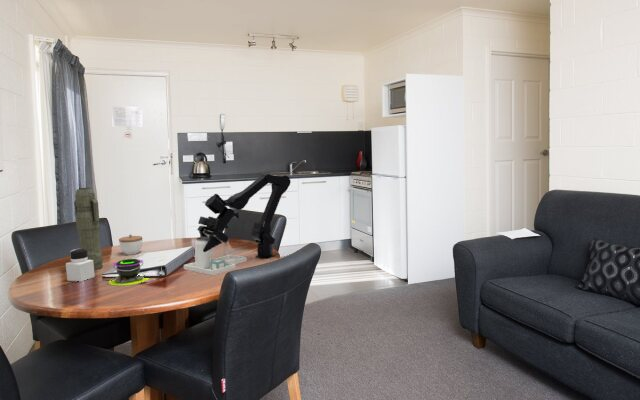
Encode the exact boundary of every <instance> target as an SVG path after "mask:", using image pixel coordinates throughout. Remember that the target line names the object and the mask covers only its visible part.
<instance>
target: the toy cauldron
mask: <svg viewBox="0 0 640 400" xmlns="http://www.w3.org/2000/svg"><path fill="white" fill-rule="evenodd" d="M122 256H125V254H122ZM138 257H139V255H136V256H135V257H134V258H133V257H130V258H128V259H126V258H123V259H120V260H118V261H116V262H114V263H113V264H112V266H113V267H112V268H113V269H114V270H116V273H117V275H118V276H117V277H116V278H117V279H115V280H112V279H110V280H109V281H108V284H109V285H110V284H111V286H114V285H119V286H118V287H120V285H121V287H122V285H125V286H131V285H132V284H133V285H137V284H141V282H142V283H145V282H147V281H148V279H149V278H144V277H143V276H140V275H138V274H140V271H141V267H142V266H143V265H144V260H143V259H140V258H138ZM137 275H138V276H137ZM136 276H137V277H136ZM111 280H112V281H111ZM146 280H147V281H146ZM149 280H150V279H149ZM144 281H145V282H144ZM133 285H132V286H133Z"/></svg>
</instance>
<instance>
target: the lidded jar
mask: <svg viewBox="0 0 640 400" xmlns="http://www.w3.org/2000/svg"><path fill="white" fill-rule="evenodd" d="M118 242H119V243H118V244H119V248H120V250H121V252H122V253H123V254H124V255H126V256H131V255H138V254H139V252H140V251H141V250H142V247H143V236H142V235H132V234H129V235H128V236H123V237H121V238H118Z"/></svg>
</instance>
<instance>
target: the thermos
mask: <svg viewBox="0 0 640 400" xmlns="http://www.w3.org/2000/svg"><path fill="white" fill-rule="evenodd" d="M74 195H75V200H74V202H73V203H74V205H73V206H74V214H75V215H74V216H75V225H76V230H77V233H78V241H79V244H78V245H79V249H86V250H87V255H88V259H87V260H93V264H94V271H97V269H98V270H101V269H102V267H104V266H103V251H102V250H101V243H100V241H101V239H100V230H99V229H100V216H99V215H100V213H99V201H98V200H97V199H96V193H95V191H94V189H93V188H91V187H79V188H78V189H76V192H75V194H74ZM100 268H101V269H100Z"/></svg>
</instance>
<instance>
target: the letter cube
mask: <svg viewBox="0 0 640 400" xmlns="http://www.w3.org/2000/svg"><path fill="white" fill-rule="evenodd" d="M222 267H225V260H220V259H218V260H214V261H211V270H215V269H219V268H222Z"/></svg>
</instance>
